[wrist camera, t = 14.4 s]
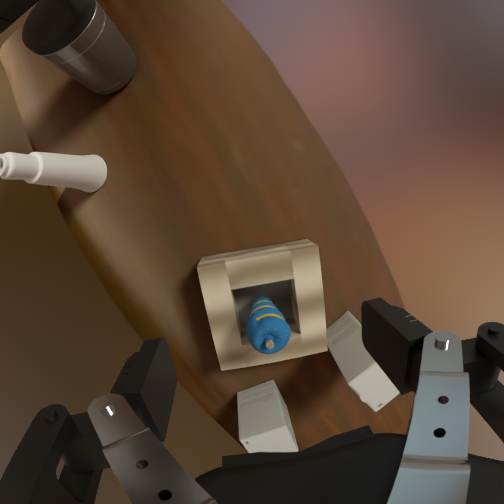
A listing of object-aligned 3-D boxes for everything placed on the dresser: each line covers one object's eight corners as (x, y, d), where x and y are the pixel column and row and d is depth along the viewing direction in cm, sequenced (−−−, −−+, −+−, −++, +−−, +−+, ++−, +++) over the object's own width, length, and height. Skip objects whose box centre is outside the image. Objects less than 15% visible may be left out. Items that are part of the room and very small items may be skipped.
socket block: (201, 257, 44) (196, 267, 38) (306, 238, 44) (318, 246, 38) (222, 350, 47) (221, 370, 41) (316, 332, 48) (327, 350, 41)
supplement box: (251, 417, 50) (255, 465, 38) (236, 391, 49) (237, 440, 37) (287, 405, 50) (299, 452, 38) (274, 378, 49) (285, 425, 36)
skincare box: (370, 338, 49) (412, 384, 33) (342, 361, 49) (375, 415, 34) (346, 308, 47) (389, 352, 32) (316, 333, 48) (347, 386, 32)
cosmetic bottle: (113, 178, 41) (25, 171, 19) (85, 199, 41) (-9, 208, 19) (98, 147, 40) (9, 121, 18) (70, 168, 40) (-24, 160, 18)
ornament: (280, 286, 45) (300, 329, 31) (272, 316, 46) (288, 368, 31) (246, 280, 45) (253, 322, 30) (240, 311, 46) (243, 363, 31)
